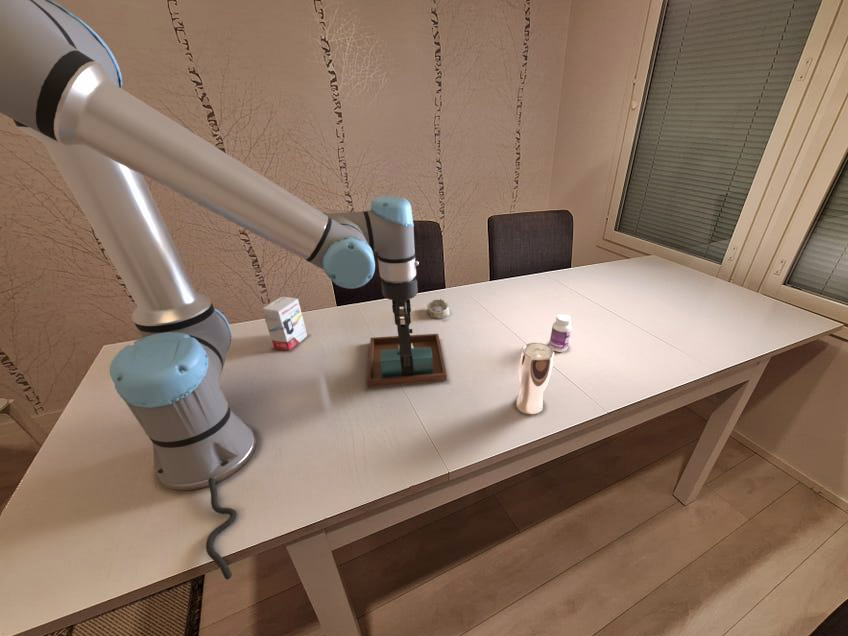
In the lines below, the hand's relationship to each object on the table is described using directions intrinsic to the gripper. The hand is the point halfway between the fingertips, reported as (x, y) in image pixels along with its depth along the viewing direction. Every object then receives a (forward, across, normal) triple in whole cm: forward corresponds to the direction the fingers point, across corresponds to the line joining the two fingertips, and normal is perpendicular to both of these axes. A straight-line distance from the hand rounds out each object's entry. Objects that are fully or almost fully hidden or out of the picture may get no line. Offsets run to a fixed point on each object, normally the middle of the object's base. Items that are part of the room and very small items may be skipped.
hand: (407, 365), depth 91 cm
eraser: (+2, -1, 0) cm, 2 cm away
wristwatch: (+3, +31, -11) cm, 33 cm away
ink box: (+3, +19, +31) cm, 37 cm away
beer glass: (+3, -16, -27) cm, 31 cm away
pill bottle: (+3, +7, -43) cm, 44 cm away
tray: (+3, +5, 0) cm, 6 cm away
